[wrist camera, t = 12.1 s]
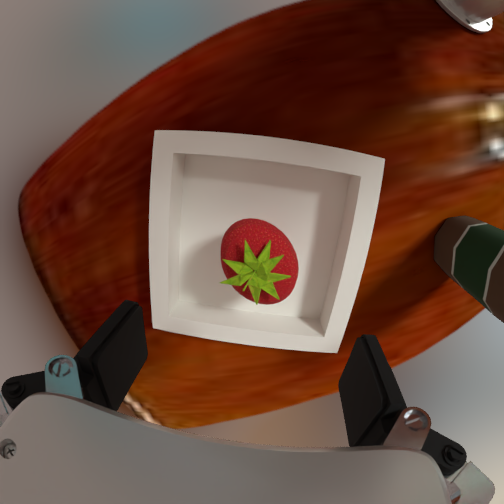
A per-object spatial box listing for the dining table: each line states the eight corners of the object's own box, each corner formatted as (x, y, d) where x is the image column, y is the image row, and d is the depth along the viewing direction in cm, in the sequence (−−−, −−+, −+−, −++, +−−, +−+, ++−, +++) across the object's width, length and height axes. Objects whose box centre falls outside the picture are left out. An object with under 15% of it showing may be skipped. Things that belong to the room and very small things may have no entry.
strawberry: (256, 284, 29) (246, 344, 20) (217, 223, 27) (187, 261, 18) (306, 259, 27) (320, 312, 18) (270, 194, 26) (266, 217, 16)
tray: (172, 134, 25) (154, 130, 21) (368, 158, 25) (385, 158, 20) (166, 307, 32) (152, 327, 28) (330, 329, 31) (337, 353, 27)
